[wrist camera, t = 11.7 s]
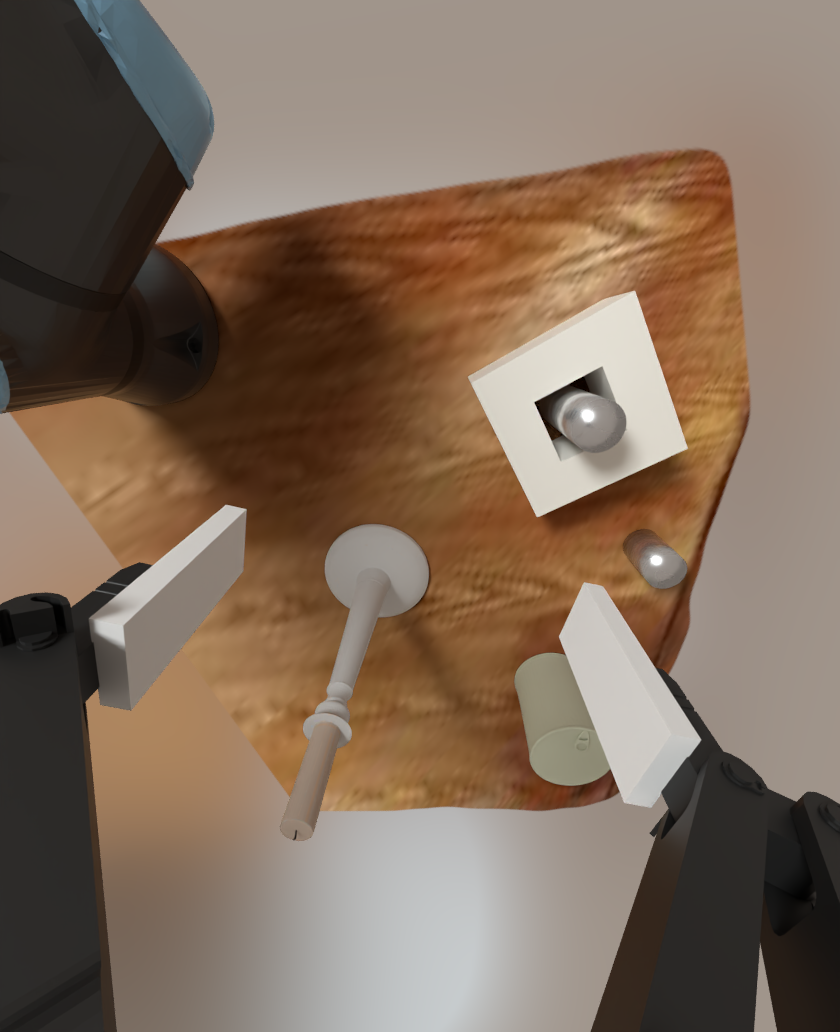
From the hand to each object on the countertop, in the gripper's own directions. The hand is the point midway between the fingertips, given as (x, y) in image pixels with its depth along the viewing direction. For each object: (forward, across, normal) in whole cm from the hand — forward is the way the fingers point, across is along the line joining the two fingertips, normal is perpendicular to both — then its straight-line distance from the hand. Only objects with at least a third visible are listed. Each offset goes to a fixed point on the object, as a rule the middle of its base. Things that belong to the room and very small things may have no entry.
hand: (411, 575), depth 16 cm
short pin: (+29, +27, -8) cm, 41 cm away
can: (+29, +24, -30) cm, 48 cm away
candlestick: (+30, -2, -20) cm, 36 cm away
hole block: (+30, +13, +5) cm, 33 cm away
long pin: (+30, +13, +5) cm, 33 cm away
